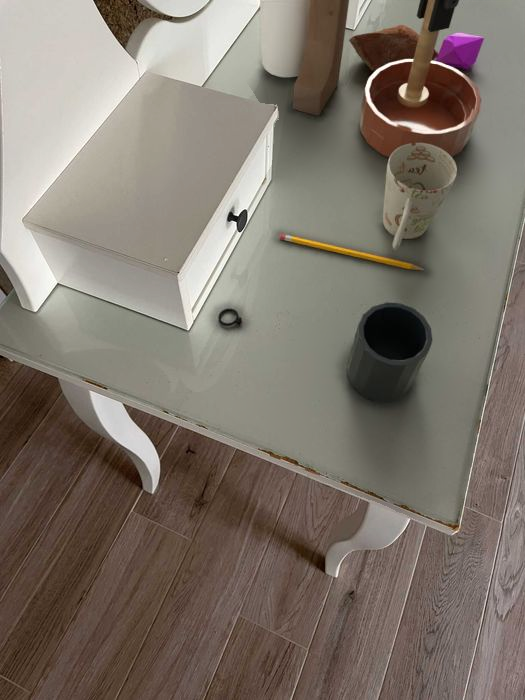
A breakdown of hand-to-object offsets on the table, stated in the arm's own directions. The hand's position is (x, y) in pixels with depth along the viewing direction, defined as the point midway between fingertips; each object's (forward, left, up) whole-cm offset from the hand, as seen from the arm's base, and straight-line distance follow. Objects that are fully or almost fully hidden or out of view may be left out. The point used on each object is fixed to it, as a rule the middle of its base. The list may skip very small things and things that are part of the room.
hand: (432, 21), depth 76 cm
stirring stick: (0, 0, -12) cm, 12 cm away
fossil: (+12, -3, -16) cm, 20 cm away
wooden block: (+10, +11, -16) cm, 22 cm away
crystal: (+10, -14, -16) cm, 23 cm away
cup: (+18, +13, -16) cm, 27 cm away
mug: (-20, +11, -16) cm, 28 cm away
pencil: (-21, +19, -16) cm, 32 cm away
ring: (-25, +37, -16) cm, 47 cm away
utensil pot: (-38, +23, -15) cm, 47 cm away
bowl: (-2, 0, -15) cm, 16 cm away
